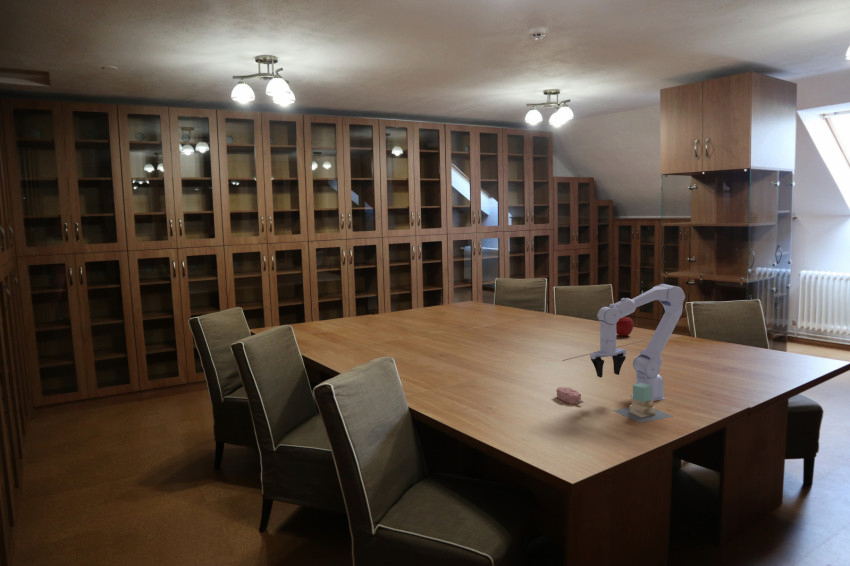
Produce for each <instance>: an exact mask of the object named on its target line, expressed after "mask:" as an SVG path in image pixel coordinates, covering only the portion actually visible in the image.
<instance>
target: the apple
mask: <svg viewBox="0 0 850 566" xmlns="http://www.w3.org/2000/svg"><path fill="white" fill-rule="evenodd" d="M634 325H635V324H634V321H633V319H632V318H631V317H627V316H624V317H622V318H620V319H619V320H618V322H617V323H616V335H618V336H619V337H627V336H629V335H630V334H631V333H632V331H633V329H634Z"/></svg>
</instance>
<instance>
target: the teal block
mask: <svg viewBox="0 0 850 566" xmlns="http://www.w3.org/2000/svg"><path fill="white" fill-rule="evenodd" d="M632 395H633V397H632V399H634V400H637V401H641V402H646V401H649V400H652V385H647V384H643V383H639V384H636V383H635V384H633V385H632Z"/></svg>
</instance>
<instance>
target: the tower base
mask: <svg viewBox="0 0 850 566" xmlns="http://www.w3.org/2000/svg"><path fill="white" fill-rule="evenodd" d="M629 407H630V413H633V414H635V415H637V416H640V417H646V416H651V415H655V409H656V407H654V406H653V407H651V408H648V409H644V410H643V409H640V408H637V407H633V406H632V404H630V405H629Z"/></svg>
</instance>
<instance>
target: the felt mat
mask: <svg viewBox="0 0 850 566" xmlns="http://www.w3.org/2000/svg"><path fill="white" fill-rule="evenodd" d="M612 411H613V412H615V413H617V414H620V415H621V416H624V417H626V418H628V419H631V420H633V421H634V422H637V423H639V424H641V423H646V422H648V423H649V422H652V421H656V420H663V419H668V418H672V417H673V415H671V414H668V413H665V412H663V411H661V410H659V409H656V408H655V415H651V416H646V417H640V416H637V415H635V414H633V413H630V406H628V407H625V408H619V409H613V410H612Z"/></svg>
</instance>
